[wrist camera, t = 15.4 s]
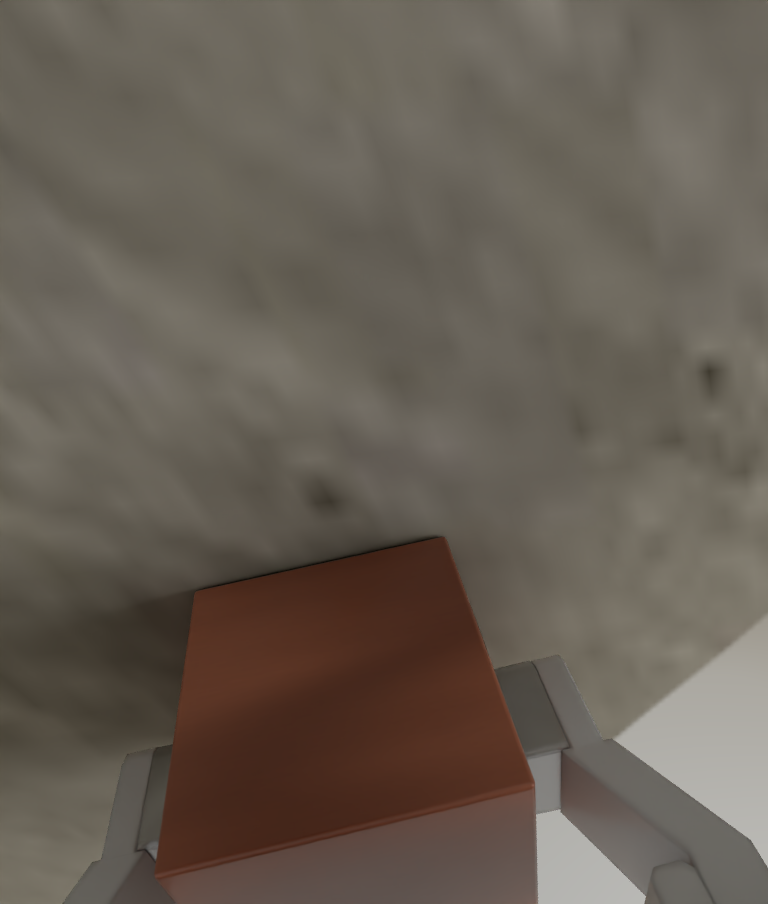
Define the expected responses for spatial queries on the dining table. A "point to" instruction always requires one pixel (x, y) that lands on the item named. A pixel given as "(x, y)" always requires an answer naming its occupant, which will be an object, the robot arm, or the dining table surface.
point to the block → (346, 744)
